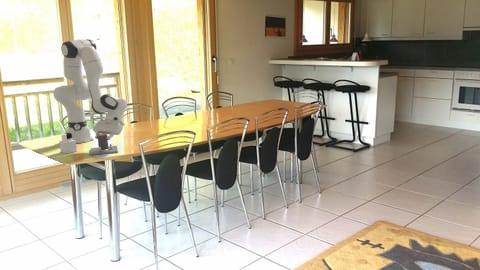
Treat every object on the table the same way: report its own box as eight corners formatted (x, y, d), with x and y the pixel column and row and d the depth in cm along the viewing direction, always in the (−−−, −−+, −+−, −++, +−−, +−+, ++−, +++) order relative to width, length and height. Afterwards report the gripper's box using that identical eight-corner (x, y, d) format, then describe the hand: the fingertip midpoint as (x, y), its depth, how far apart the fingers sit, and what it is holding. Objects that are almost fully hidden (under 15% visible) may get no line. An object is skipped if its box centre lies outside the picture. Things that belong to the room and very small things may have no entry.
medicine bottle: (71, 150, 271) (68, 131, 269) (77, 151, 267) (74, 132, 264) (60, 152, 266) (58, 133, 263) (66, 153, 261) (64, 134, 259)
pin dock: (90, 149, 270) (90, 143, 269) (116, 147, 275) (116, 141, 274) (90, 155, 255) (89, 149, 254) (117, 152, 260) (117, 146, 259)
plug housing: (98, 149, 264) (97, 134, 262) (103, 148, 267) (102, 133, 265) (103, 150, 262) (102, 135, 260) (108, 148, 266) (106, 133, 264)
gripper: (96, 116, 272) (86, 135, 265) (121, 118, 262) (111, 137, 256) (102, 122, 276) (92, 140, 270) (126, 124, 267) (117, 142, 261)
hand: (102, 139), depth 263 cm, fingers open, 8 cm apart
